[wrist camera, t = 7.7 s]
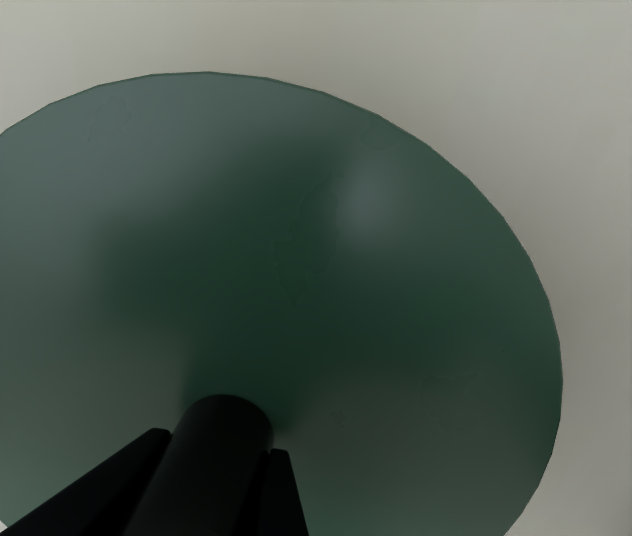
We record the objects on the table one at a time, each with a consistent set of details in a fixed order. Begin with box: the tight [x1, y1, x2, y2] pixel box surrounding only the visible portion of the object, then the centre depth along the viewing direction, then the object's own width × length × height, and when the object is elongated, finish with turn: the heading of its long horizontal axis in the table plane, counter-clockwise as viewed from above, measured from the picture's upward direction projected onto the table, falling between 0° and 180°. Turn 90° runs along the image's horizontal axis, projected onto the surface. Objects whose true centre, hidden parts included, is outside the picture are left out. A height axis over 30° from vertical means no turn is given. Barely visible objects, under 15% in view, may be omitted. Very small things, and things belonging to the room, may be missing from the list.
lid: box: [0, 71, 563, 536], centre depth 6 cm, size 16×16×6 cm
